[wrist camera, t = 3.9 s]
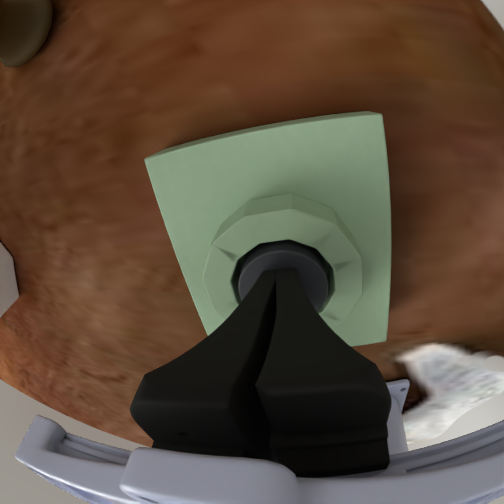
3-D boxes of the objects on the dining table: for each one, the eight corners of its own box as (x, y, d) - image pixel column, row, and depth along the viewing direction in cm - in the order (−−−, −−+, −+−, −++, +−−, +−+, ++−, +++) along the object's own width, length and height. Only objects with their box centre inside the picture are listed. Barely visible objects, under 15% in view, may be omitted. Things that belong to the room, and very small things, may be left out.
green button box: (379, 316, 17) (393, 365, 14) (223, 333, 19) (210, 381, 16) (368, 110, 12) (398, 116, 8) (162, 149, 14) (123, 169, 10)
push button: (327, 294, 14) (331, 319, 12) (253, 303, 15) (248, 327, 13) (320, 225, 12) (323, 244, 11) (235, 237, 13) (227, 257, 11)
